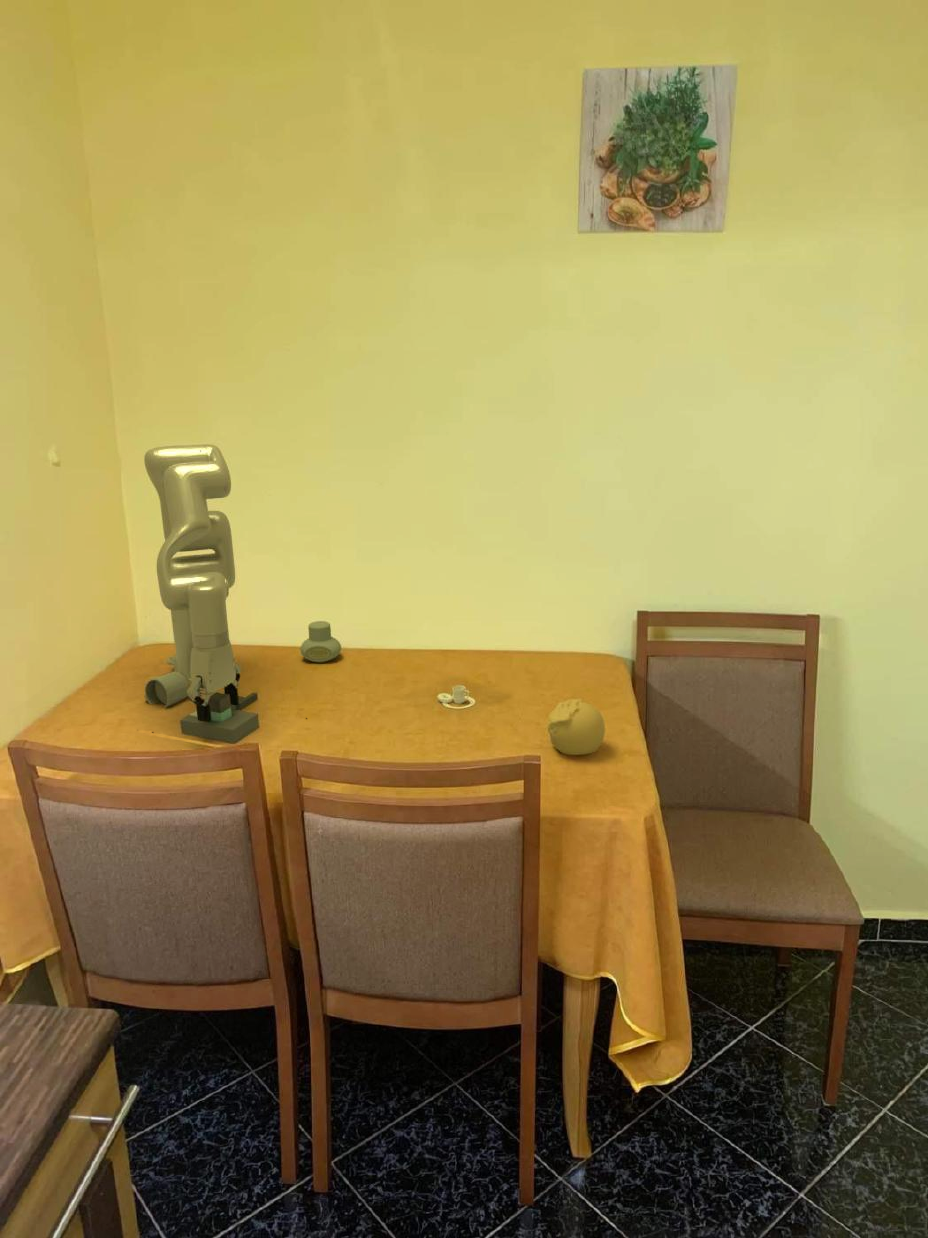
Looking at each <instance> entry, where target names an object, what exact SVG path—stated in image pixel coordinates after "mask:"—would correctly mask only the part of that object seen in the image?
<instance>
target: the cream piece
mask: <svg viewBox="0 0 928 1238" xmlns="http://www.w3.org/2000/svg"><path fill="white" fill-rule="evenodd" d="M466 692H467V693H468V695H466ZM470 694H471V693H470V691H469V690H467V689H466V687H465V686H464V685H454V686H452V695H451V694H449V693H447V692H446V693H444V692H443V693H439V694H438V695H437V700H438V701H439V702H440V703H441V704H442V706H444V707H446V708H448V709H453V710H463V709H468V708H471V707H473V706H475V704H476V700H475V699H474V698H473V697H471V696H470ZM467 700H468V701H469V703H468V704H467V705H464V706H454V705H453V706H452V705H450V704H449V703H452V702H453V701H454V704H455V705H456V704H457V705H461V704H464V702H466V701H467Z"/></svg>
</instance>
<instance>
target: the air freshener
mask: <svg viewBox="0 0 928 1238" xmlns="http://www.w3.org/2000/svg"><path fill="white" fill-rule="evenodd" d="M307 626H308V627H307V628H308V638H307V639H305V640H304V641H303V642H302V643H301V645H300V654H301V655H302V657H304V658H305V659H306V660H308V661H309V662H314V663H317V664H320V663H326V662H330V661H332V660H334V659H335V658H337V657H338V656H339V654H340V653H341V651H342V644H341V643H340V641H339V640H338V639H336V638H335V637H333V636H332V629H331V623H330V622H328V621H325V620H317V621H313V622H310V623H309V624H308V625H307Z"/></svg>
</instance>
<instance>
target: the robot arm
mask: <svg viewBox="0 0 928 1238" xmlns="http://www.w3.org/2000/svg"><path fill="white" fill-rule="evenodd" d="M222 453H223V452H222V451H221V449H220V448H219V447H218V446H217V445H214V444H208V443H206V444H187V445H167V446H166V445H165V446H159V447H158V446H157V447H153V448H151V449H148V450H147V451H146V452H145V454H144V456H143V457H144V466H145V470H146V473H147V475H148V477H149V480H150V481H151V484H152V485H153V487H154V489H155V491H156V492H157V495H158V497H159V504H160V510H161V511H160V512H161V521H162V522H161V523H162V529H163V536H164V542H163V543H162V545H161V547H160V550H159V552H158V554H157V558H156V575H157V581H158V588H159V595H160V598H161V601H162V604H163V606H164V607H165V608H166V609H167V610H169V611H170V616H171V623H172V624H171V625H172V632H173V633H172V634H173V643H174V649H175V651H174V652H175V655H174V654H170V655H169V657H168V659H167V661H166V665H167V666H173V668H174V670H173V671H172V672H180V673H182V674H184V675H185V676H186V677H187V679H188V681H189V682H190V687H189V689H188V690H187V694H188V696H187V697H188V698H189V699H190V702H192V703H193V704H194V705H195V708H196V710H197V718H198V720H199V721H203V722H211V711H210V705H209V704H207V703H208V701H209V698H210V696H211V695H213V694H215V693H216V692H218V691H220V690H222V689H223V690H224V692H223V694H229V695H230V703H231V705H238V704H239V701H238V696H239V693H238V691H239V690H238V688H239V686H240V683H239V681H240V678H241V671H242V666H243V665H242V664H241V663H237V662H236V661H235V655H234V652H233V651H234V650H233V647H232V646H233V645H232V643H231V640H230V633H229V625H228V614H227V613H228V611H227V602H226V601H227V598H228V597H229V594H230V592H229V591H230V589H231V588H233V586H234V585H235V582H236V567H235V557H234V556H235V555H234V548H233V537H232V535H233V534H232V530H231V524H230V521H229V519H228V516H227V515H226V513H224V512H222V511H220V510H209V508H208V501H207V500H212V499H223V498H224V499H225V498H227V497H228V496H230V493H231V491H232V480H231V474H230V470H229V468H228V465H227V464H228V463H227V462H226V460H225V458H224V456H223V454H222ZM207 550H212V551H213V552H211V553H202V554H192V555H190V554H189V555H180V556H175V555H176V554H177V553H179V552H181V553H182V552H194V551H195V552H197V551H207ZM174 556H175V557H174ZM202 695H204V696H203V698H202Z"/></svg>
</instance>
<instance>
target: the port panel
mask: <svg viewBox="0 0 928 1238" xmlns="http://www.w3.org/2000/svg"><path fill="white" fill-rule="evenodd" d="M231 713H232V716H231V717H230V718H228V719H226V720H225V721H223V722H222V723H220V722H215V721H211V722H203V721H199V720H198V718H197V709H196V710H195V711H193V712H191V713H190V714H188V715H186V716H185V717H183V718H181V719H179V724H180V730H181V734H182V735H186V736H192V737H197V738H203V739H208V740H213V741H217V742H222V743H224V742H225V743H229V744H234V745H235V744H237V743H238V742H239V741H241V740H242V739H244V738H245V737H247V736H248V735H250V734H251V733H253V732H254V731H256V730H257V729H259V728H260V723H259V714H258V713H255V712H250V711H244V710H234V709H231Z"/></svg>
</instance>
